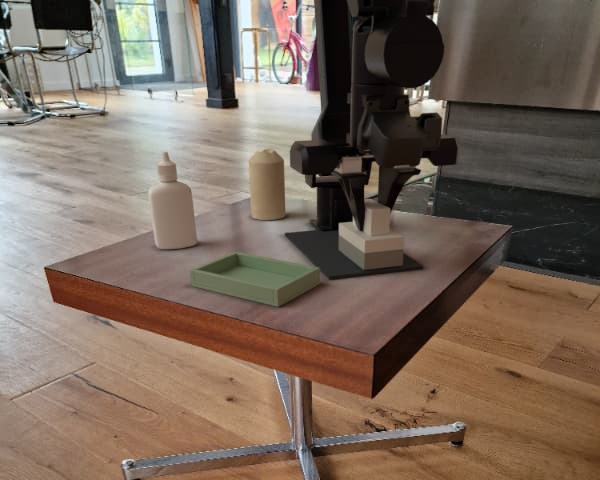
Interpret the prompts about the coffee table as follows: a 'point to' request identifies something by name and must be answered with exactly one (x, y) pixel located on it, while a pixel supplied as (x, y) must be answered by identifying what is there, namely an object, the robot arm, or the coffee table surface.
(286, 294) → the tray
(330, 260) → the mat
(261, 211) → the candle
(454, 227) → the coffee table surface
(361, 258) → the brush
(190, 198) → the eye dropper bottle
